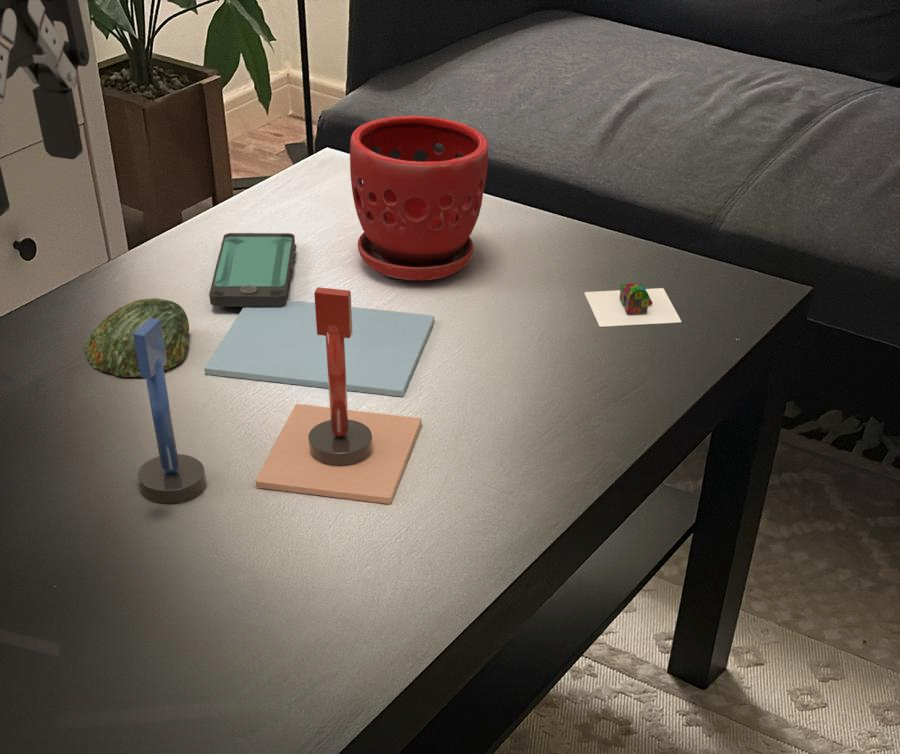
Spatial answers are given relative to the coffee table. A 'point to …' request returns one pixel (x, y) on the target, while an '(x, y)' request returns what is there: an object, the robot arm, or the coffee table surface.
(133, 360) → the seashell
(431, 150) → the flower pot
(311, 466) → the orange mat
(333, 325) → the red rod on disc
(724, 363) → the coffee table surface
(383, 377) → the blue mat
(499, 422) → the coffee table surface
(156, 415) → the blue rod on disc
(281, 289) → the smartphone
